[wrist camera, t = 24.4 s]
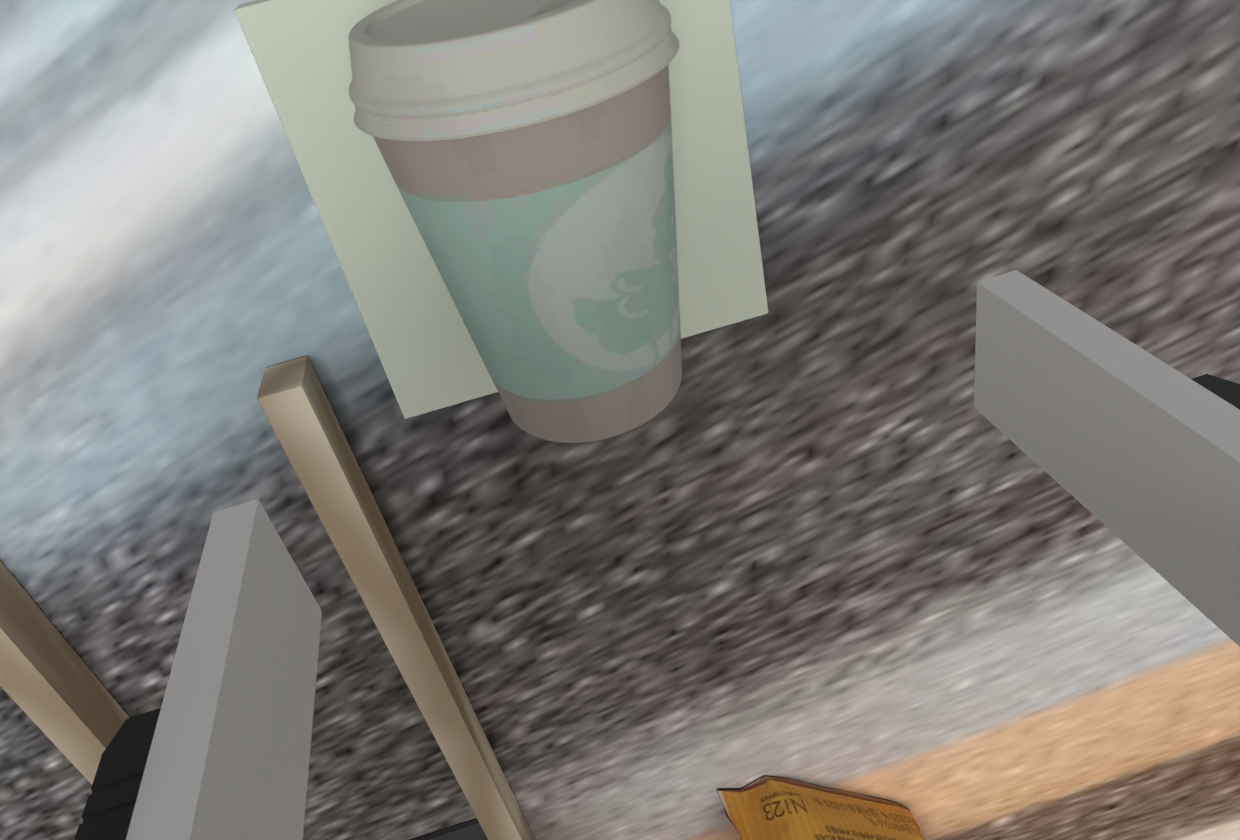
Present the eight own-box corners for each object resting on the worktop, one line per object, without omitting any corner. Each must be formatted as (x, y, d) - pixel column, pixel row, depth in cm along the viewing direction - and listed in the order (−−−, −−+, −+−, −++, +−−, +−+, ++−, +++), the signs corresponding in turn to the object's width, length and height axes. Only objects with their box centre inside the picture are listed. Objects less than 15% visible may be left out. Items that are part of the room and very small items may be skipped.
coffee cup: (556, 518, 24) (414, 75, 17) (424, 398, 30) (278, 33, 23) (782, 375, 27) (742, -49, 20) (622, 292, 33) (547, -57, 26)
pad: (404, 405, 33) (404, 419, 32) (239, 5, 25) (234, 9, 24) (759, 302, 34) (768, 313, 33) (705, -115, 26) (715, -114, 25)
